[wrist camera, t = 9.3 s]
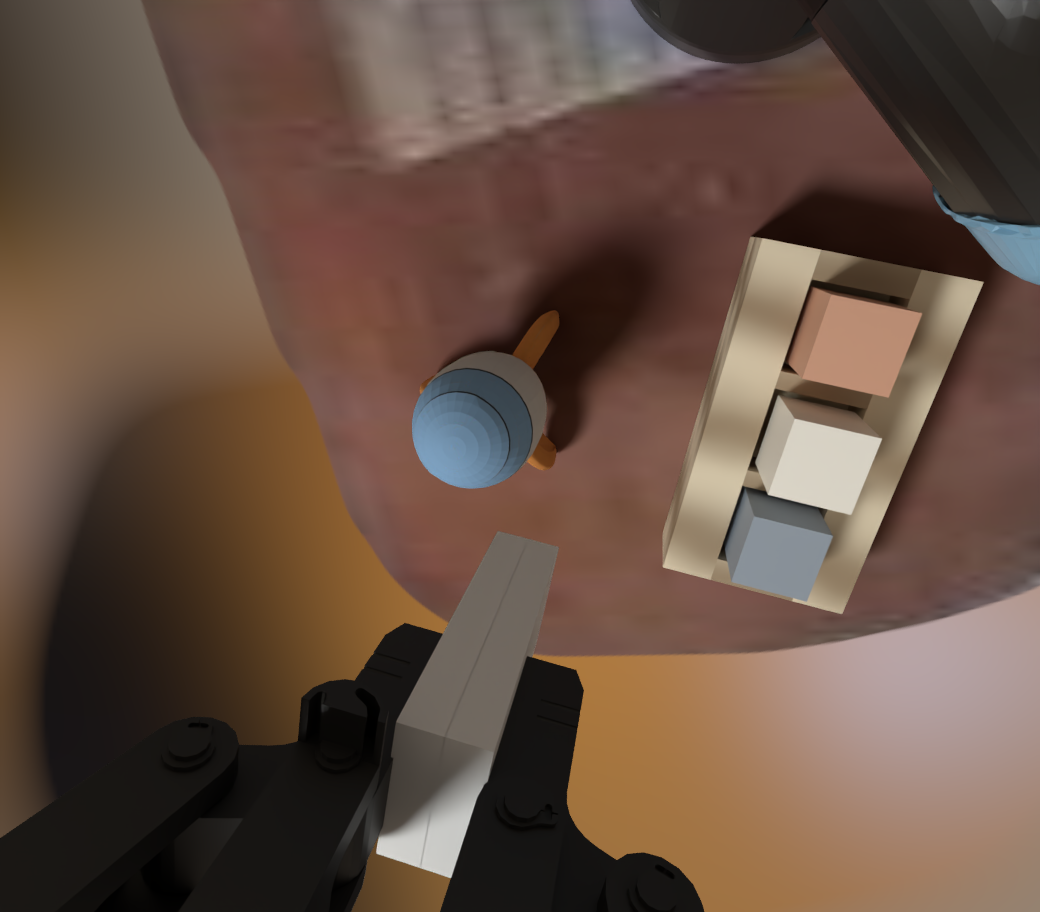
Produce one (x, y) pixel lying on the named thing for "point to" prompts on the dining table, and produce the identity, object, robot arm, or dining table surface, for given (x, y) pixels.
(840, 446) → the key ivory
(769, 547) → the grey block
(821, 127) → the dining table surface
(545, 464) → the toy rocket
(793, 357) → the key terracotta
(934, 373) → the beige cube tray
